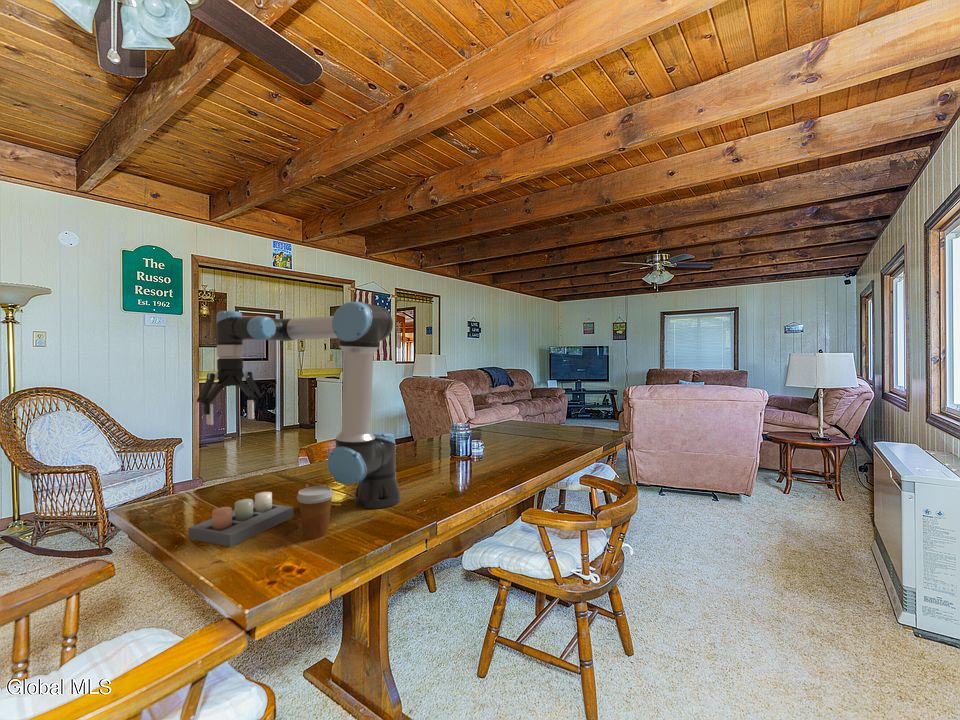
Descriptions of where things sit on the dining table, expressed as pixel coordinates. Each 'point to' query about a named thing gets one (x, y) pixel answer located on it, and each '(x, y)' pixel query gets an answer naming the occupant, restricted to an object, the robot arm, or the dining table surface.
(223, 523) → the terracotta button
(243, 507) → the sage button
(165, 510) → the dining table surface
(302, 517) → the disposable coffee cup
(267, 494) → the cream short cylinder
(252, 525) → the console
